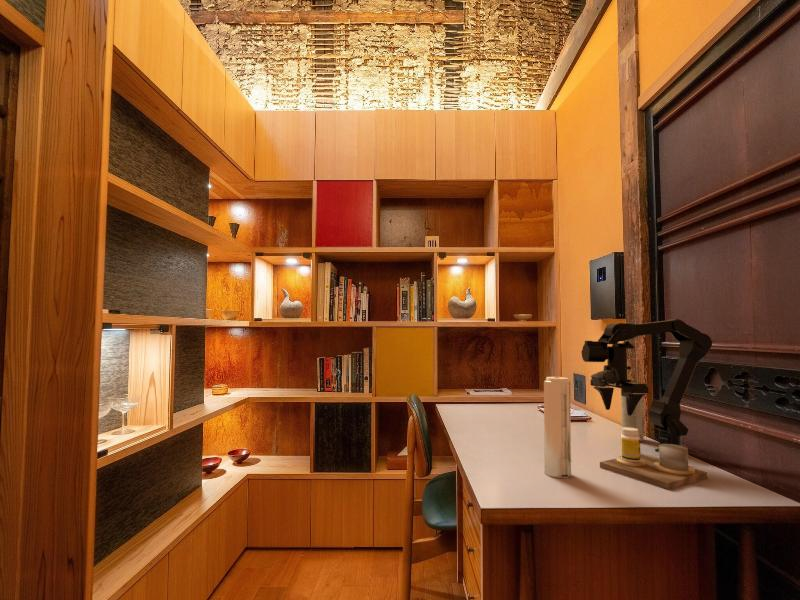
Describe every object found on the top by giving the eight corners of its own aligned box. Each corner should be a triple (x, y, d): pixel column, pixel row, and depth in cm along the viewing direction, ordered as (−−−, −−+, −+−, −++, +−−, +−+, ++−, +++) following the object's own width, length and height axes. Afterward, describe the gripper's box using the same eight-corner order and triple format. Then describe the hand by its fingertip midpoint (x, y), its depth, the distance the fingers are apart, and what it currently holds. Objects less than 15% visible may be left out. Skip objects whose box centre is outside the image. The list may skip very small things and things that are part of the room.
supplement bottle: (643, 463, 112) (642, 431, 113) (624, 461, 113) (623, 430, 114) (637, 458, 117) (636, 427, 118) (618, 456, 118) (618, 426, 119)
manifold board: (638, 458, 124) (638, 433, 125) (707, 478, 109) (706, 449, 109) (599, 467, 115) (599, 440, 116) (668, 489, 100) (667, 458, 100)
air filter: (570, 471, 111) (569, 376, 113) (571, 479, 105) (570, 379, 107) (544, 468, 114) (543, 375, 115) (544, 476, 107) (543, 377, 109)
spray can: (647, 442, 144) (646, 383, 145) (628, 441, 144) (626, 382, 145) (637, 437, 150) (636, 380, 152) (618, 436, 151) (617, 380, 152)
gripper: (576, 360, 141) (576, 407, 140) (618, 365, 123) (618, 419, 122) (604, 360, 143) (605, 406, 142) (649, 365, 125) (650, 418, 124)
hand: (618, 412), depth 133 cm, fingers open, 9 cm apart
